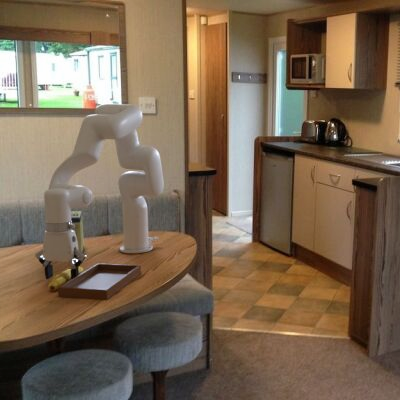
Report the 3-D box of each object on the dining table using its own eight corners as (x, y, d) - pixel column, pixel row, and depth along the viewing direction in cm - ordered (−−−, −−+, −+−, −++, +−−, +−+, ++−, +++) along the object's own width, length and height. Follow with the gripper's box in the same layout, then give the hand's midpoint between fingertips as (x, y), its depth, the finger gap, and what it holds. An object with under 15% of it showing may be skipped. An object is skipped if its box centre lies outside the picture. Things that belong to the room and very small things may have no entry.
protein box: (84, 247, 226) (82, 209, 223) (82, 258, 212) (80, 218, 209) (55, 249, 222) (53, 211, 219) (52, 260, 208) (49, 219, 205)
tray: (98, 271, 197) (97, 263, 196) (141, 273, 195) (140, 265, 195) (58, 296, 172) (57, 287, 171) (107, 299, 170) (106, 290, 170)
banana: (73, 271, 194) (75, 261, 193) (84, 275, 194) (87, 265, 193) (40, 290, 175) (42, 279, 174) (53, 294, 175) (55, 284, 174)
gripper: (90, 225, 184) (93, 276, 187) (40, 223, 185) (43, 273, 189) (78, 230, 177) (81, 283, 180) (26, 228, 178) (30, 280, 181)
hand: (62, 278), depth 184 cm, fingers open, 8 cm apart
